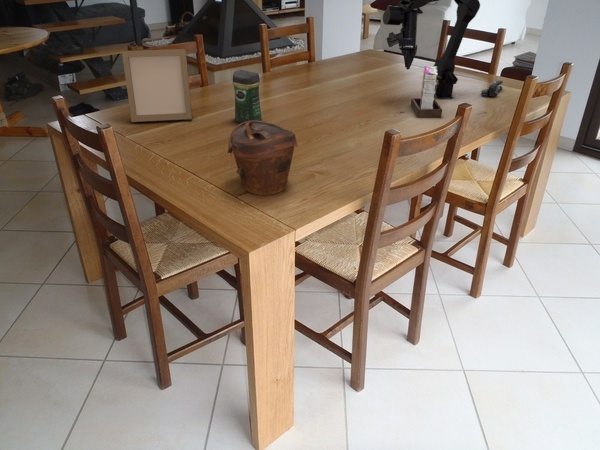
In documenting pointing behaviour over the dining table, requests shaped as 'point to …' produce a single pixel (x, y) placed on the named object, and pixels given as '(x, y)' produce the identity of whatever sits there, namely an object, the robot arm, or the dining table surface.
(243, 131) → the brown bucket
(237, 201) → the dining table surface
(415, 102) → the compartment
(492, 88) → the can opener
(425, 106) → the candy bar box
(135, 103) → the photo frame
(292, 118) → the dining table surface
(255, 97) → the coffee jar
